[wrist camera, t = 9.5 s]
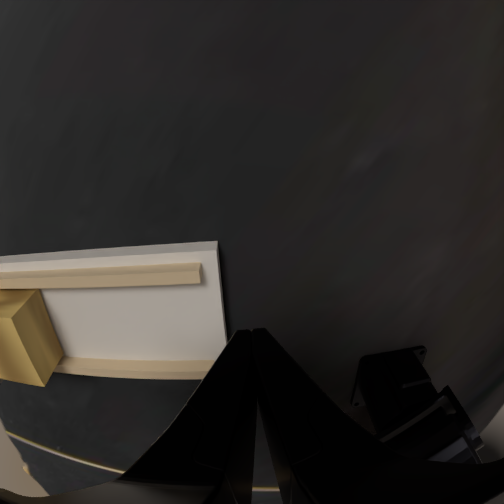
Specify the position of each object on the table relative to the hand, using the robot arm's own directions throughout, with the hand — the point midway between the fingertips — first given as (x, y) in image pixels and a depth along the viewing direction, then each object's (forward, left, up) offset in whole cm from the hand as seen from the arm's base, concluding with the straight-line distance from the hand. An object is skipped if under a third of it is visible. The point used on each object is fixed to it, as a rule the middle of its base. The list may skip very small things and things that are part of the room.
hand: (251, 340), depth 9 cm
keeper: (-6, +18, -10) cm, 22 cm away
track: (-6, +13, -12) cm, 18 cm away
